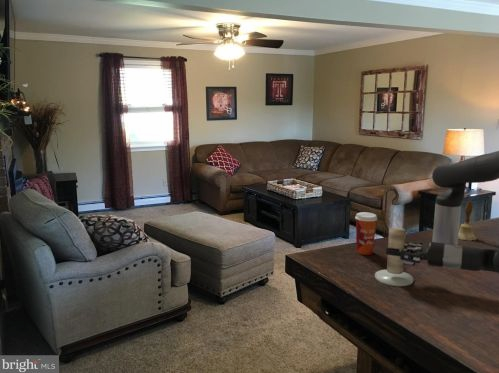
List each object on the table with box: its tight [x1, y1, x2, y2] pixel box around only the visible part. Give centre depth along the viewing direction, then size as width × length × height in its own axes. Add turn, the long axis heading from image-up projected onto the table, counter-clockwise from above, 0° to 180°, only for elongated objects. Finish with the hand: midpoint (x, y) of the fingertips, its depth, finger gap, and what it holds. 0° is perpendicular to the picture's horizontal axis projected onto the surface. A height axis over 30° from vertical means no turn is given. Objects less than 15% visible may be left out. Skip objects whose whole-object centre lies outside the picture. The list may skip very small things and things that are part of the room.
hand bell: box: [458, 200, 477, 242], centre depth 177 cm, size 8×8×16 cm
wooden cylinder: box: [386, 227, 406, 274], centre depth 136 cm, size 5×5×14 cm
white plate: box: [374, 269, 414, 287], centre depth 138 cm, size 12×12×1 cm
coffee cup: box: [354, 211, 378, 256], centre depth 160 cm, size 8×8×15 cm
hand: (387, 248), depth 137 cm, fingers closed on wooden cylinder, 5 cm apart
